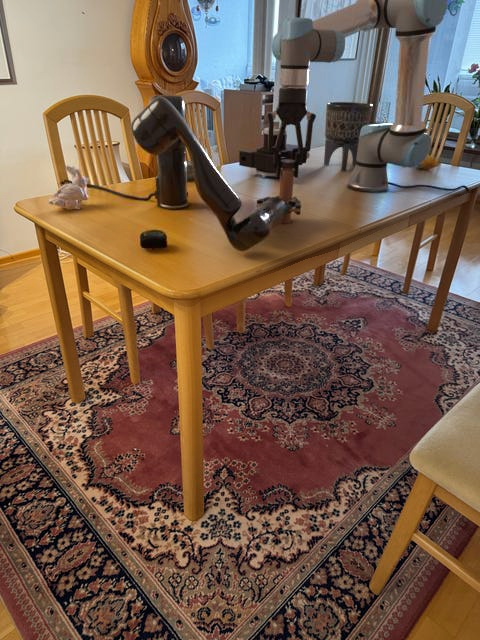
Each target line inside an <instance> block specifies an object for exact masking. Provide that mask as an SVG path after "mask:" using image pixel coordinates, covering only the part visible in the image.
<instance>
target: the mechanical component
mask: <svg viewBox="0 0 480 640" xmlns="http://www.w3.org/2000/svg"><path fill="white" fill-rule="evenodd" d="M273 121H274V131H273V147H275V144H276V140H277V137H278V133H279V130H280V124H281V121H279V120H273ZM268 131H269V127H265V128H264V129H263V145H262V146H258V147H257V148H256V151H250V150H245V149H241V150H239V153H238V154H239V155H238V157H239V159H238V166H240V167H245V168H250V169H255V173H256V174H257V175H261V177H262V178H267V177H277V176H276V174H277V165H274V162H273V161H274V152H272V151H269V149H268ZM287 138H288V129H287V128H286V129H285V132H284V135H283V139H282V142H281V146H280V149H279V152H280V153H281V160H284V159H289V160H295V157H296V153H299V150H298V144H290V143H287ZM310 156H311V154H310V151H309V152H305V153H304V154H303V164H304V165H305V164H307V160H309V158H310ZM303 164H302V165H303ZM293 169H294V170H295V168H293ZM280 171H281V167H280Z"/></svg>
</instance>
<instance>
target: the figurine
mask: <svg viewBox="0 0 480 640" xmlns="http://www.w3.org/2000/svg"><path fill="white" fill-rule="evenodd" d="M65 170H66V171H67V172H68V173H69V174H70V175H71V179H72V180H71V181H72V183H64V184H62V186H61V187H59V188H58V189H57V190H56V192H55V193H54V194H53V195H52V198H50V199H49V200H47V203H48V205H51V206H53V205H55V206H56V207H58V208H61V209H63V208H64V209H66V210H80V207H78V205H82V204H84V202H83V201H88V200H89V199H90V198H89V195H88V193H87V192H88V189H87V188H86V187H87V186H86V184H88V182H89V181H90V180H89V179H90V178H89V177H86V176H84V175H82V172H81V170H80V169H79V168H76V167H75V166H74V165H73V166H70V165H66V166H65Z"/></svg>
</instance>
